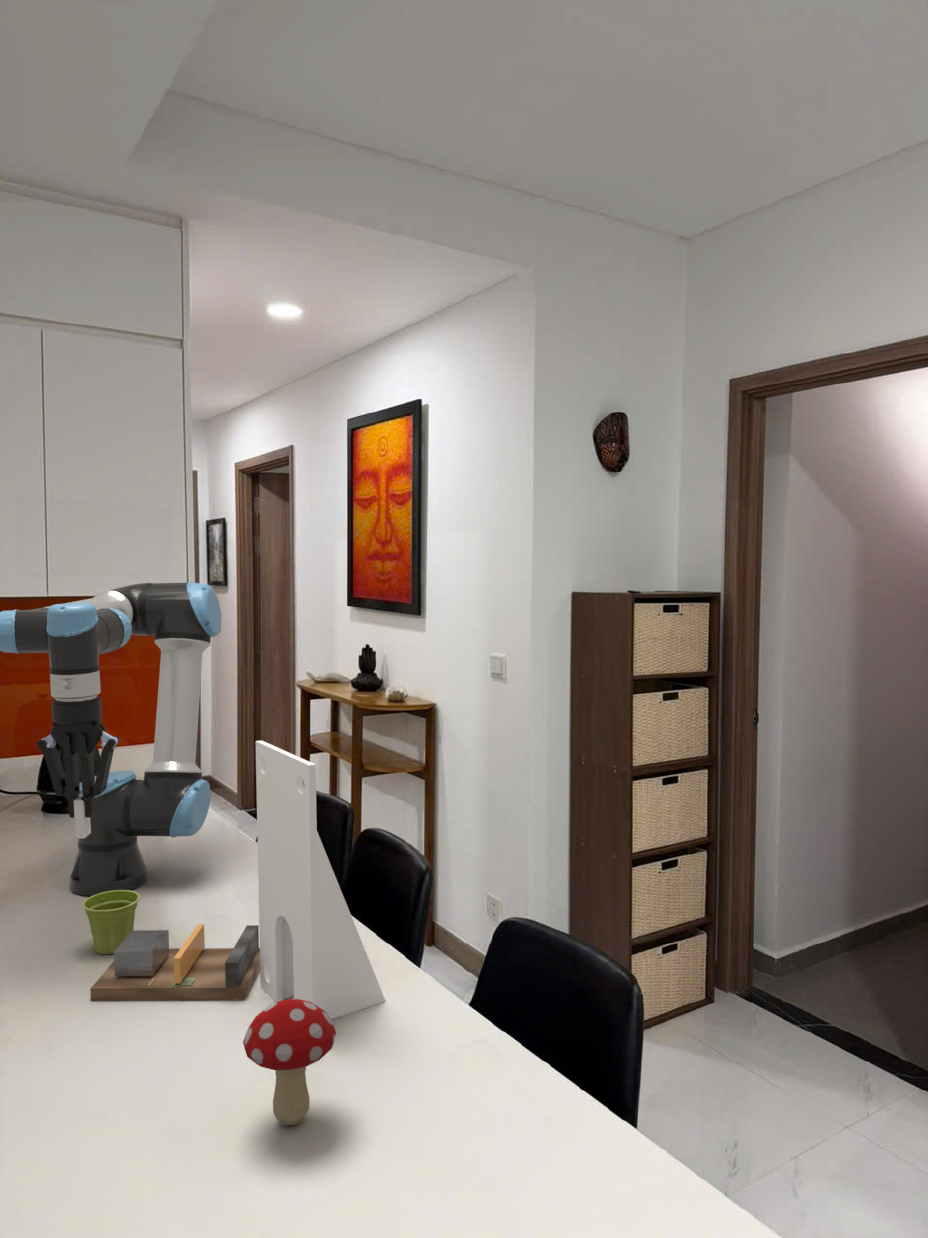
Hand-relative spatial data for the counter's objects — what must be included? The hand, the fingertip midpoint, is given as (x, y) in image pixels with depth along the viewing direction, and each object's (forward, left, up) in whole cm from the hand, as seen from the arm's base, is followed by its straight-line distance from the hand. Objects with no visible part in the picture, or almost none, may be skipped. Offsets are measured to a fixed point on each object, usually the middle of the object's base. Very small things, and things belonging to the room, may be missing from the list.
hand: (83, 835), depth 149 cm
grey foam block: (+5, +11, -20) cm, 23 cm away
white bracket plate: (+12, +43, -23) cm, 50 cm away
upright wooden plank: (+5, +19, -20) cm, 28 cm away
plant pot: (-7, +2, -23) cm, 24 cm away
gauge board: (+5, +18, -22) cm, 29 cm away
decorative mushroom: (+42, +43, -23) cm, 64 cm away
